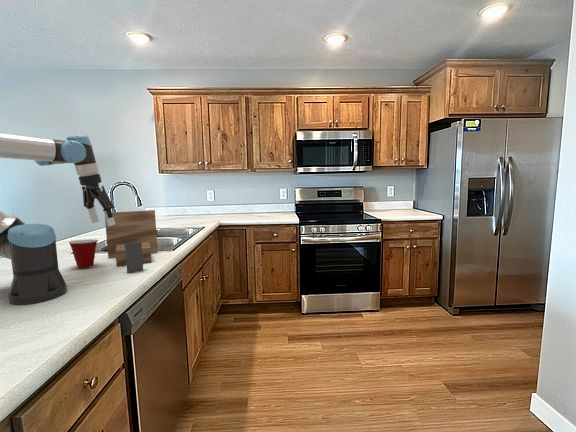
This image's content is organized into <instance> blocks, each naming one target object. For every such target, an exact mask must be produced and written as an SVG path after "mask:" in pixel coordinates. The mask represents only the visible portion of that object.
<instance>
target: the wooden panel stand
mask: <svg viewBox="0 0 576 432" xmlns="http://www.w3.org/2000/svg"><path fill="white" fill-rule="evenodd" d="M112 214H113V218H114V221H115V224H114V225H111V226H108V225H107V221H106V218H105V217H104V223H105V224H104V225H105V234H106V245H107V257H108V259H109V260H111V259H115V260H116V268H118V267H127V264H126V252H125V243H132V242H141V244H142V259H143V265H144V264H151V263H152V261H153V260H152V255H153V254H158V237H157V222H156V220H157V219H156V210H155V209H151V210H150V209H149V210H131V211H128V210H127V211H114V212H113V211H112Z"/></svg>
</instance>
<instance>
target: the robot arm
mask: <svg viewBox="0 0 576 432" xmlns="http://www.w3.org/2000/svg"><path fill="white" fill-rule="evenodd" d="M0 159H14V160H27V161H34V162H35V163H36V165H38V166H41V167H44V166H53V165H63V164H73V165H74V169H75V171H76V175H77V176H78V181H79V184H80V186H81V190H82V197H83V198H82V199H83V201H82V202H83V207H84V208H86V209H87V211H88V214H89V218H90V220H91V224H97V223H100V220H99V216H98V214H97V213H98V212H97V209H96V205H95V199H96V200H97V201H98V203H99V204H100V206H101V208H102V211H103V214H104V219H105V218H106V221H107V225H108V226H111V225H114V224H115V221H114V218H113V214H112V212H113V211H112V210H113V209H114V204H113V203H112V201H111V199H110V197H109V196H108V193H107V191H106V189H105V186H104V185H100V183H102V177H101V174H100V173H99V164H97V161H96V158H95V153H94V149H93V145H92V143H91V140H90V138H89V136H88V135H85V134H80V135H70V136H67V137H66V140H61V139H53V138H46V137H40V136H39V137H38V136H30V135H24V134H16V133H15V134H14V133H7V132H0ZM56 239H57V236H56V233H55V229H54V228H53V227H52V226H51V225H48V224H44V223H43V224H41V223H28V224H27V223H25V222H23V221H22V220H21V219H19V217H17V216H16V215H7V214H5V213H4V212H3V211H2V210H0V257H2V258H5V259H9V260H10V261H11V268H12V281H11V284H10V287H9V290H8V296H7V298H8V303H9V304H13V305H30V304H36V303H42V302H46V301H49V300H52V299H55V298H58V297H60V296H62V295H65V294H66V293H67V292H68V286H67V283H66V280H65V279H64V277H63V274H62V273H61V272H60V269H59V260H58V252H57V251H58V250H57V242H56Z"/></svg>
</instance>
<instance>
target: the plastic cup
mask: <svg viewBox="0 0 576 432" xmlns="http://www.w3.org/2000/svg"><path fill="white" fill-rule="evenodd" d="M98 241H99V239H95V238H91V239H85V238H84V239H75V240H70V241H68V244H69V245H70V248H71V251H72V254H73V255H72V256H73V257H74V261H75V264H76V266H77V269H82V270H83V269H89V268H92V267H94V264H95V258H96V256H95V255H96V249H97V244H98Z"/></svg>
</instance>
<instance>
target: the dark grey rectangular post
mask: <svg viewBox="0 0 576 432" xmlns="http://www.w3.org/2000/svg"><path fill="white" fill-rule="evenodd" d="M125 252H126V264H127V266H126V274H132V273H133V274H134V273H140V272H144V264H143V259H142V244H141V242H132V243H125Z"/></svg>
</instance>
